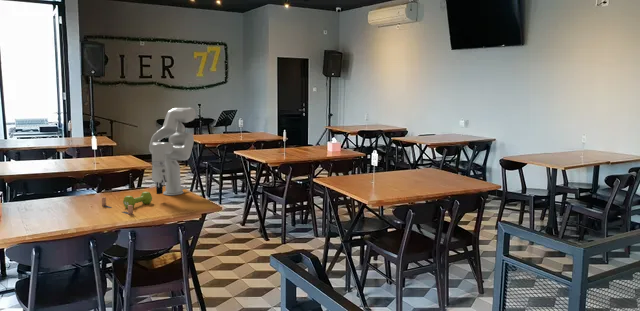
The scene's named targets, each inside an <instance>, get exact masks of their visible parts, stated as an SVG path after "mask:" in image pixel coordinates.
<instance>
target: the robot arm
mask: <svg viewBox="0 0 640 311" xmlns="http://www.w3.org/2000/svg"><path fill="white" fill-rule="evenodd" d="M196 114H197V113H196V109H195V108H193V107H174V108H170V110H168V111H167V112H166V115H165V118H164V122H163V124H162V127H161V128H159V129H158V130H157V131H156V132H155V133H153V135H152V136H151V139H150V141H149V146H148V150H149V153H150V154H151V166H152V167H151V179H152V182H153V184H154V185H155V188H156V195H164V196H179V195H182V194H184V190H187V189H188V185H184V186H183V185H182V184H181V183H182V182H181V180H182V179H181V166H180V164H179V162H178V161H188V160H189V159H190V158H191V155H192V149H193V147H194V141H195V139H194V134H193V133H191V132H186V127H185V125H184V124H185V123H189V122H192V121H194V120H195V119H196V116H197V115H196ZM183 123H184V124H183ZM167 137H169V138H168V142H167V141H161V140H163V139H164V138H167ZM164 186H165V190H164V189H163V187H164ZM163 190H164V191H163Z"/></svg>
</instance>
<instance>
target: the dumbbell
mask: <svg viewBox="0 0 640 311" xmlns="http://www.w3.org/2000/svg"><path fill="white" fill-rule="evenodd" d="M152 201H153V196H152V194H151V192H150V191H142V192H141V194H140V196H137V197H133V195H125V196H124V198H123V201H122V203H123V205H124V208H125V209H128V205H133V208H134V207H135V205H136V204H138V203H142V204H145V205H150V204H151V203H152Z"/></svg>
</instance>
